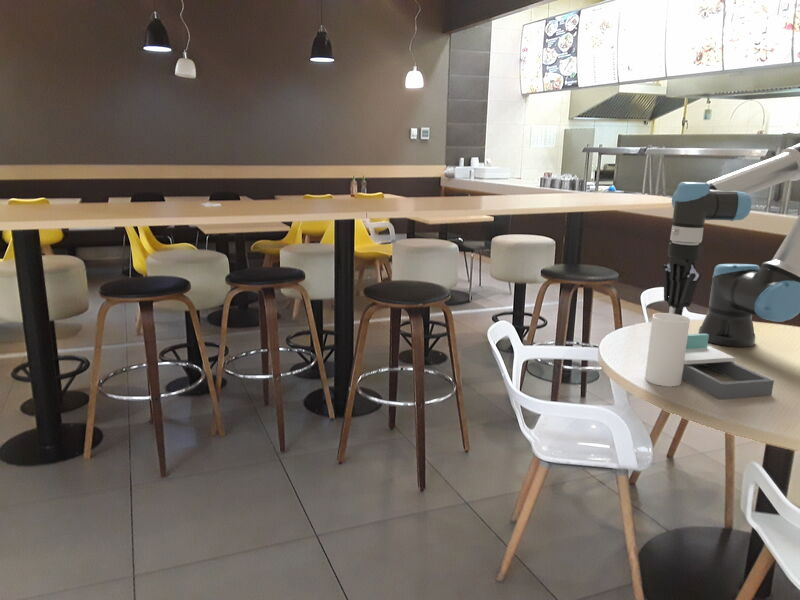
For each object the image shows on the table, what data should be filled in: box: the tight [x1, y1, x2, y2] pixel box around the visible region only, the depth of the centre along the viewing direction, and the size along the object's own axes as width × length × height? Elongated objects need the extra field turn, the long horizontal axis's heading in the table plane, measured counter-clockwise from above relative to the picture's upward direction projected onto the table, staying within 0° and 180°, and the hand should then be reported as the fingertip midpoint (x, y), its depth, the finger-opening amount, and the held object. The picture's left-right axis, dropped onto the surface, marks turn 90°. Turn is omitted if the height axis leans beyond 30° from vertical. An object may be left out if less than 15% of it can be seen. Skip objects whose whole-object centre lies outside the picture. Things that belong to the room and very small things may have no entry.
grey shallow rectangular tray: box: [682, 361, 775, 400], centre depth 153 cm, size 14×22×4 cm, turn 13°
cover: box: [684, 333, 736, 365], centre depth 158 cm, size 14×9×4 cm
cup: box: [644, 312, 691, 388], centre depth 151 cm, size 8×8×16 cm
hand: (672, 330), depth 167 cm, fingers closed
